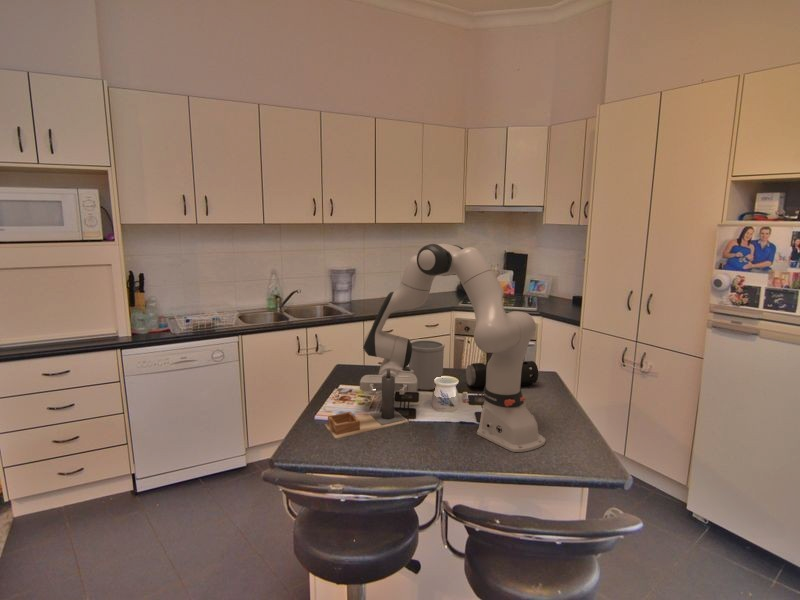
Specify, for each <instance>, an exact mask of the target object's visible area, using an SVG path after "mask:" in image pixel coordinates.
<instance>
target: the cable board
mask: <svg viewBox="0 0 800 600" xmlns="http://www.w3.org/2000/svg"><path fill="white" fill-rule="evenodd" d="M404 423H407V424H408V425H410V421H409V420H408V419H407V418H405V417H404V416H403V415H402V414H401V413H400V412H398V411H397V410H396V409H395V408H394V418H393V419H383V418H382V417H381V411H379V412H374V413H369V414H364V415H360V416H355V414H354V413H353V412H352V411H347V412H342V413H338V414H333V415H328V416H327V423H324V424H323V425H324V426H325V427H326V428H327V430H328V431H329V432H330V434H331V435H332V436H333V437H334V439H340V438H346V437H350V436H353V435H357V434H362V433H367V432H371V431H375V430H379V429H383V428H387V427H388V428H389V427H391V426H396V425H401V424H404Z"/></svg>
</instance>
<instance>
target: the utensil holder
mask: <svg viewBox="0 0 800 600" xmlns="http://www.w3.org/2000/svg"><path fill="white" fill-rule="evenodd" d="M410 342H411V344H412V355H411V359H410V362H409V365H408V369H411V370H413V371H414V375H416V377H417V382H418V388H417V390H425V391H427V390H428V391H429V390H430V391H431V390H435V389H434V388H435V384H434V379H435V378H436V377H441V376H444V353H445V352H444V351H445V343H444V342H443V341H441V340H437V339H433V338H432V339H429V338H422V339H421V338H420V339H418V338H417V339H413V340H410Z"/></svg>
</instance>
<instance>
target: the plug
mask: <svg viewBox="0 0 800 600" xmlns="http://www.w3.org/2000/svg"><path fill="white" fill-rule="evenodd" d="M395 394H396V392H395V377H394V376H390V369H387V375H386V376H383V377H382V391H381V405H380V406H381V409H380V410H381V411H380V412H381V417H382V418H383V419H393V418H394V409H395Z"/></svg>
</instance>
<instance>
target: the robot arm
mask: <svg viewBox="0 0 800 600" xmlns="http://www.w3.org/2000/svg"><path fill="white" fill-rule="evenodd" d="M437 276H442V277H449V276H456V277H457V278H458V279H459V281H460V283H461V285H462V288H463V289H464V291H465V293H466V295H467V297H468V299H469V301H470V303H471V305H472V309H473V312H474V317H475V329H474V331H473V339H474V343H475V345H476V347H477V348H478V349H479V350H480V351H481V352H483V353H488V354H489V353H490V354H491V357H490V359H488V362H486V364H487V369H486V386H485V387H484V388H483V399H484V402H483V405H482V408H481V414H480V420H479V424H478V429H477V430H476V435H478V436H480V437H481V438H484V439H486V440H487V441H490V442H492V443H494V444H496V445H497V446H499V447H502V448H504V449H506V450H508V451H510V452H513V453H514V452H515V453H523V452H528V451H529V452H530V451H533V450H537V449H539V448H542V447H543V445H545V444H546V441H547V440H546V438H545V437H544V436H542V435H541V433H539V427H538V423H537V421H536V417H535V415H533V414H531V412H530V411H529V409H528V407H526V405H525V403H524V402H525V401H526V400H527V399H526V398H527V397H526V396H523V393H522V389H521V385H520V384H521V371H522V365H523V361H525V357H526V353H527V350H528V348H529V345H530V341H531V340H532V338H533V336H534V335H535V332H536V331H537V330H536V328H537V326H536V321H535V319H534V318H533V316H532V315H531V314H529V313H527V312H525V311H517V310H516V311H510V312H506V310H505V307H504V302H503V299H504V295H505V291H504V288H503V287H502V285H501V283H500V281H499V279H498V277H497V275H496V274H495V272H494V269H493V268H492V266H491V265H490V263H489V262H488V260H487V258H486V257H485V256H484V255H483V254H482V252H481V251H480V250H479V249H478V248H476V247H473V246H471V247H470V246H469V247H465V248H463V247H462V246H460V245H457V244H449V243H429V244H427V245H426V244H425V245H424V246H423V247H421V248H420V249H419V250H418V253H417V254H415V255H413V256H411V257H410V259H409V260H408V262H407V264H406V266H405V269H404V271H403V274H402V277H401V280H400V284H399V285H398V287H397V288H396V289H395V290H394V291H390V292H389V293H388V294H387V295H386V297H385V299H384V301H383V303H382V304H381V307H380V309H379V311H378V312H377V313H378V314H377V315H376V317H375V319H374V322H373V323H372V326H371V328H370V329H369V331H368V332H367V334H366V335H365V337H364V340H363V345H362V346H363V347H362V349H363V350H364V352H365V354H366V355H368V356H370V357H375V358H379V359H383V360H382V362H381V364H380V366H379V370H378V374H365V375H363V376H361V379H360V381H359V390H360V391H362V392H370V393H371V395H376V394H377V392H382V377H383V376H386V375H387V369H390V376H394V377H395V393H396V392H398V393H399V396H400V395H402V396H403V395H405V393H415V392H418V389H417V388H418V382H417V377H416V375H414V371H413V370H411V369H409V368H408V367H409V362H410V359H411V355H412V344H411V342H410V341H411V340H410V339H409V338H407V337H404V336H400V335H395V334H392V333H388V332H385V331H383V329H384V326H385V324H386V323H387V320H388V318H389V317H390V315H391V314H392V313H394V312H397V311H404V310H405V311H406V310H413V309H417V308H419V307H421V306H423V305H424V304H425V303H426V302H427V299H428V297H429V294H430V292H431V290H432V285H433V282H434V279H435V278H436V277H437Z"/></svg>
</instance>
